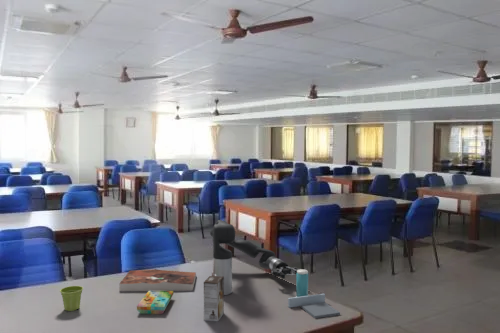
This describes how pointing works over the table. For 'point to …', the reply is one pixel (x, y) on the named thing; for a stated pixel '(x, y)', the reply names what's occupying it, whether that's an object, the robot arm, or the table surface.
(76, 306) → the plant pot
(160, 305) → the puzzle game
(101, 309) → the table surface
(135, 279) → the board game box
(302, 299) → the wall
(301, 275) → the jar
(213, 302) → the coffee box
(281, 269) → the robot arm
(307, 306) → the mat
